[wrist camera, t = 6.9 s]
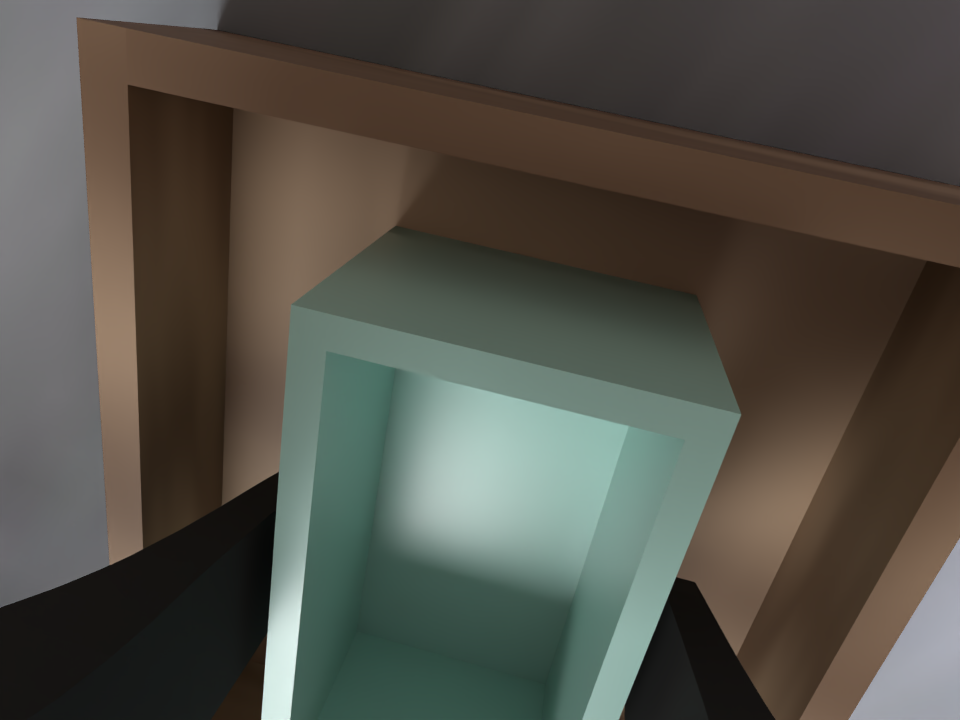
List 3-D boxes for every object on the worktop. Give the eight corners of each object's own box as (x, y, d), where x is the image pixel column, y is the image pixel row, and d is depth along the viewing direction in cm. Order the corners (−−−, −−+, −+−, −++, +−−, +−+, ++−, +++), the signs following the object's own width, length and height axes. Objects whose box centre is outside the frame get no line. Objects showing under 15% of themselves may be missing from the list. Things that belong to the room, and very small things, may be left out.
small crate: (563, 687, 16) (547, 897, 12) (341, 625, 17) (255, 807, 13) (696, 294, 12) (741, 414, 8) (395, 225, 12) (290, 304, 8)
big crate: (691, 786, 18) (709, 945, 14) (204, 645, 19) (121, 764, 15) (988, 192, 11) (1140, 243, 8) (214, 29, 12) (76, 18, 9)
